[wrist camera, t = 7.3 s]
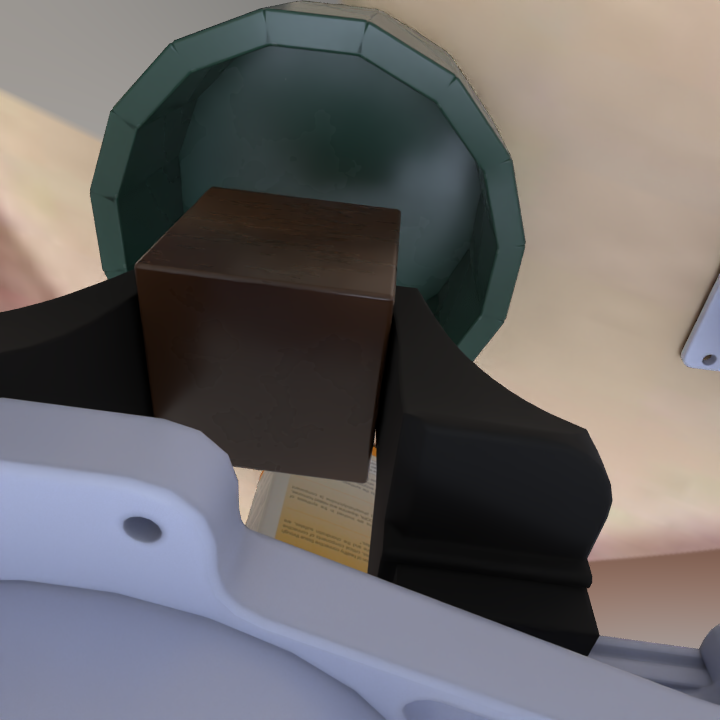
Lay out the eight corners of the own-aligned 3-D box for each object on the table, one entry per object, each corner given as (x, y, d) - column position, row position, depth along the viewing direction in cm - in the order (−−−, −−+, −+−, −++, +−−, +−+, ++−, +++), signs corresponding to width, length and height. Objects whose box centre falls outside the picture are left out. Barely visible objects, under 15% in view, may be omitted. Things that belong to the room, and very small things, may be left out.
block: (401, 208, 13) (395, 297, 10) (379, 367, 16) (367, 486, 12) (210, 184, 13) (131, 264, 10) (218, 345, 16) (156, 458, 12)
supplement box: (258, 473, 30) (167, 753, 19) (291, 409, 28) (208, 690, 17) (400, 527, 32) (389, 818, 21) (444, 472, 29) (458, 769, 18)
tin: (539, 27, 18) (581, 44, 14) (462, 358, 25) (472, 444, 21) (145, -19, 18) (54, -18, 14) (177, 322, 25) (123, 399, 21)
